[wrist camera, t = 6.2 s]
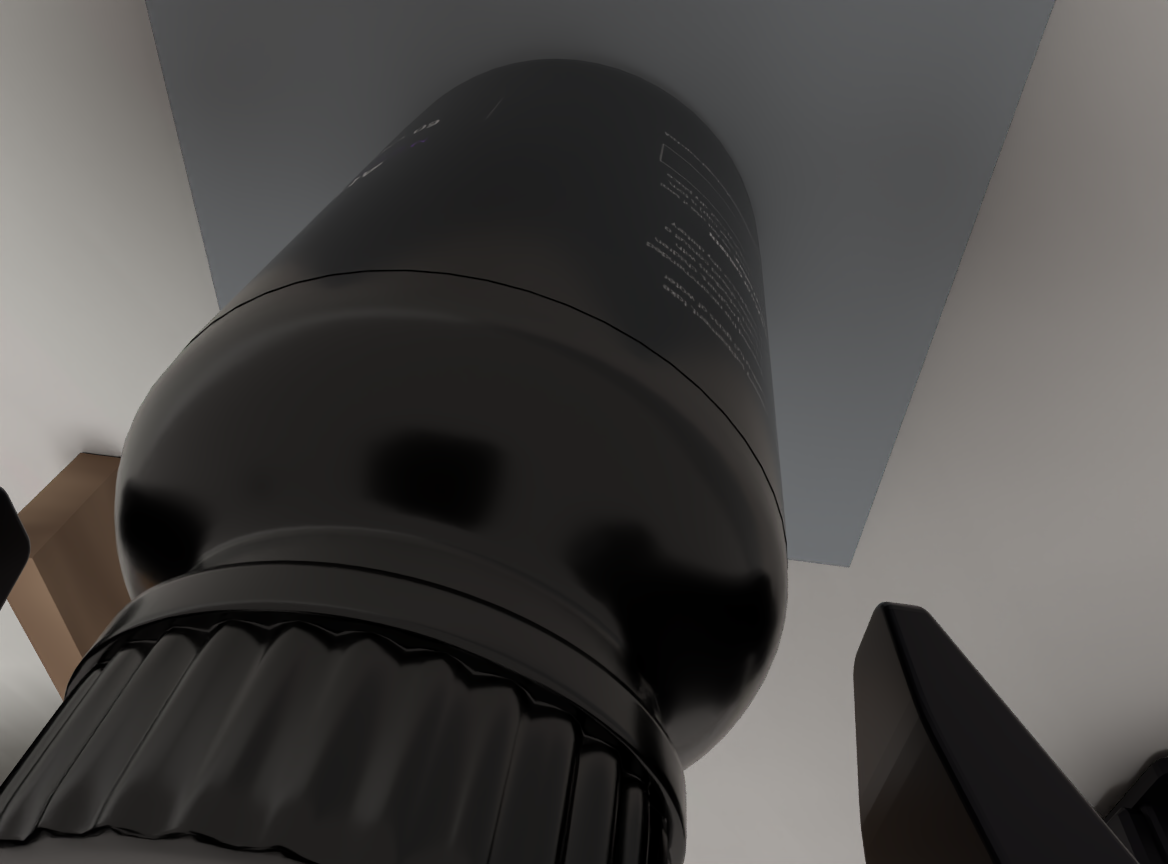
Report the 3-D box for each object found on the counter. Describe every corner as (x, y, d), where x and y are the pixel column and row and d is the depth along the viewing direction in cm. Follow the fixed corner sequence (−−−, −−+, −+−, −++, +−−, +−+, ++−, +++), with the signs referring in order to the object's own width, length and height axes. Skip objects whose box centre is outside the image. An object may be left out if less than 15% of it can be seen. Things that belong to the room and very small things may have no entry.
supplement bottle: (359, 39, 13) (-602, 598, 3) (787, 60, 12) (1046, 808, 3) (406, 391, 17) (24, 1093, 8) (729, 420, 17) (757, 1221, 7)
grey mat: (1112, -206, 11) (1130, -209, 10) (845, 548, 19) (849, 567, 19) (104, -272, 12) (78, -277, 11) (274, 474, 20) (263, 490, 19)
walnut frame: (638, 525, 19) (626, 640, 17) (601, 805, 27) (588, 917, 24) (80, 452, 20) (-20, 550, 18) (198, 744, 28) (142, 844, 25)
